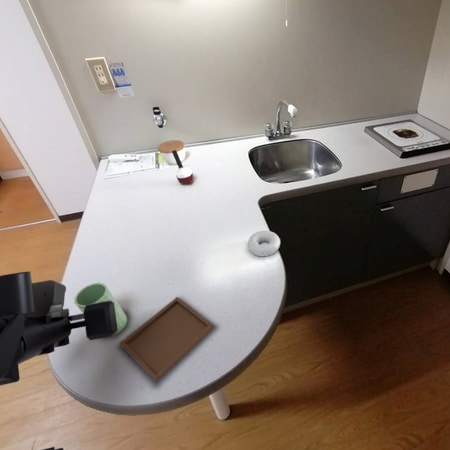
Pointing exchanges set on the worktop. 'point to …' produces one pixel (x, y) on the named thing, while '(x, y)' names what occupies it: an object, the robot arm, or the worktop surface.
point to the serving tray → (166, 338)
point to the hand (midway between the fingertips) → (82, 318)
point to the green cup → (99, 294)
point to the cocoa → (182, 171)
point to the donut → (263, 249)
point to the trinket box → (170, 146)
